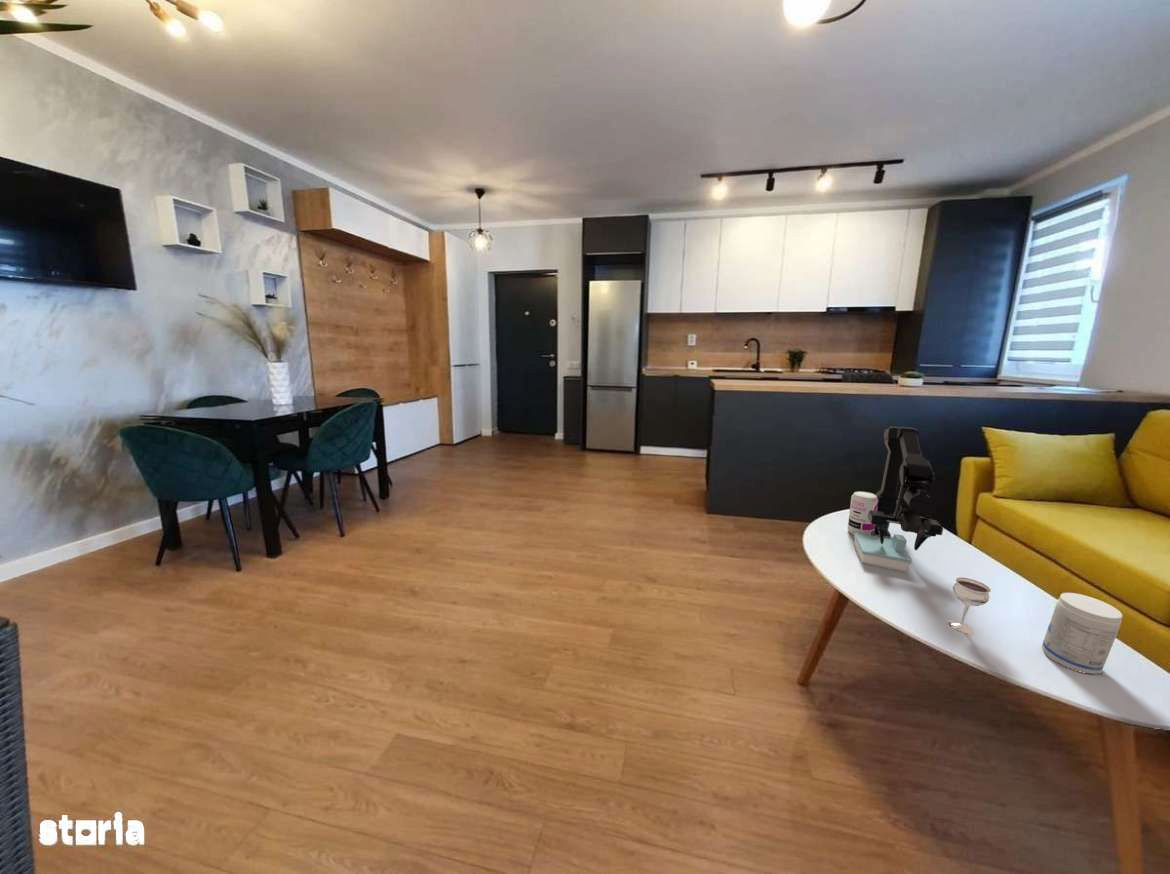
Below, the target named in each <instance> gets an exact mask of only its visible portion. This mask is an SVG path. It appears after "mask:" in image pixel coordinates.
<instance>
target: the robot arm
mask: <svg viewBox="0 0 1170 874" xmlns="http://www.w3.org/2000/svg"><path fill="white" fill-rule="evenodd" d="M918 431H919V430H918V429H917V428H914V427H908V426H907V427H905V426H899V427H898V426H889V427H888V428H886V429H884V433H883V439H884V445H885V446H886V448H887V457H886V461H885V466H884V472H883V477H882V482H881V488H880V489H879V490H878V491H877V492H876V493H875V495H876V496H877V499H878V507H877V511H874V510H871V511H869V513H868V519H869V520H870V522H871V523H872V524H874V525H875V529H874V534H877V535H878V537H879V538H880V542H881V544H883V542H884V538H885V536H889V537H891V532H890V531H889V528H890V524H896V525H900V529H901V530H902V532H905V533H914V534H916V538H915V541H914V544H913V545H914V547H913V548H914V550H915V551H918V550H919V548H920V547H921V546H922V545H923V544H924V542H926V540H928V539H929V538H931V537H934V538H935V537H936V536H942V535H943V533H944V527H943V526H942V525H941V524H940V522H939V521H937V520H936V519H932V518H929V517H924V516H921V514H926V513H928V512H930V511H931V510H933V508H934V502H933V499H932V498H931V497H930V496H929V495H928V494H929V492H928V491H934V486H936V480H935V472H934V469H933V468H932V466H931V464H930V461H929V460H927V458H925V457H923V454H922V451H921V448H920V447H921V446H920V443H919V439H918V435H919V434H918V433H919V432H918ZM899 480H900V489H899V492H898V495H897V490H898V489H897V488H898V483H899Z"/></svg>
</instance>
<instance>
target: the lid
mask: <svg viewBox="0 0 1170 874" xmlns="http://www.w3.org/2000/svg"><path fill="white" fill-rule="evenodd" d="M853 537H854V540H855V539H856V541H857V543H858V545H859V548H860V550H861V552H862V554H865V555H870V556H876V557H881V558H886V559H891V560H897V561H902V562H907V563H909V564H912V562H913V559H912V558H911V556H910V555H909V553H908V552H907V550H906V545H907V539H906V537H905V536H904V535H902V534H896V533H894V534H893V538H892V539H891V538H886V537H884V542H883V544H881V542H880V538H879V536H874V535H873V536H870V535H864V534H858V533H854V535H853Z"/></svg>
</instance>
